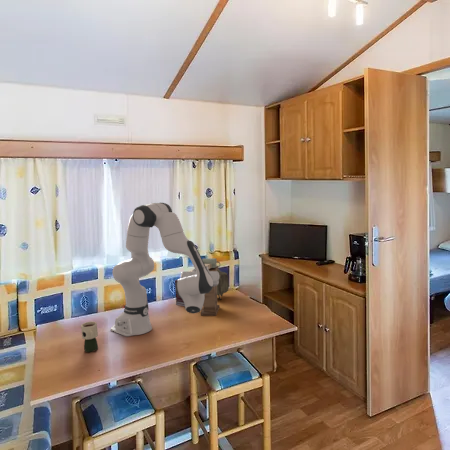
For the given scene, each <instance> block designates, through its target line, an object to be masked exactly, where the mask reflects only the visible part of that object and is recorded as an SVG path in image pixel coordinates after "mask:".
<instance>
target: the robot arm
mask: <svg viewBox="0 0 450 450" xmlns="http://www.w3.org/2000/svg"><path fill="white" fill-rule="evenodd" d="M153 227H155V228H157V229H158V232H159V234H160V238H161V242H162V244H163V246H164V248H165V249H166V250H167V251H168V252H170V253H174V254H179V255H185V256H187V257H188V258H189V259H190V261H191V263H192V266H193V267H194V269H192V270H191V271H189V270H188V271H181V272H180V273H181V274H180V277H179V278H178V279H176V280H177V282H176V286H174V288H175V289H174V290H176V291H175V294H176V293H177V295H178V296H179V297H180V298H181V299H183V301H184V304H185V306H184V308H185V311H186V312H187V313H189V314H198V313H201V312H202V310H203V304H204V299H205V296H204V295H205V293H209V292H210V291H211V289H212V288H213V287H214V286H217V285H218V284H219V272H218V271H209V270H208V266H207V267H205V264H204V262H203V260H202V259H203V258H202V256H201V254H200V252H199V249H198V248H197V246H196V244H195V243H194V242H193V241H191V240H189V239H188V237H186V234H185V232H184V229H183V225H182V224H181V221H180V219H179V217H178V215H177V214H176V213H175V212H173V209H172V207H171V206H170V205H169V204H168V203H165V202H151V203H147V204H141V205H138V206H137V207H136V208H134V210H133V211H132V215H130V218H129V222H128V225H127V230H126V239H125V240H126V242H125V248H126V250H127V251H128V252H130V255H131V258H129V259H126V260H124V261H120V262H118V264H115V266H114V267H113V268H112V277H113V279H114V280H115V282H116V283H119V285H121V287H122V289H123V292H124V296H125V297H124V298H125V305H122V309H123V311H122V312H121V313H120V314H119V315H118V316H116V317H115V320H114V325H112V326H111V327H110V331H111V332H113V331H114V332H113V333H117V334H119V335H121V336H123V337H131V336H139V335H143V334H144V335H145V334H147V333H149V332H150V331H152V329H153V326H152V324H151V320H150V314H149V303H148V296H147V289H146V287H145V286H143V285H141V283H140V280H139V279H141V278H143V277H147V276H148V275H149V274H151V273H152V272H153V271H154V269H155V262H154V259H153V258H152V256H150V254H149V238H150V229H151V228H153Z"/></svg>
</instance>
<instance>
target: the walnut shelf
mask: <svg viewBox="0 0 450 450" xmlns="http://www.w3.org/2000/svg"><path fill="white" fill-rule="evenodd" d="M218 266H219V265H217V267H215V268H210V269H208V270H209V271H217V270H218V269H219V267H218ZM204 296H205V299H204V304H203V307H202V309H201V311H200V316H202V317H203V316H205V317H206V316H207V317H208V316H211V317H212V316H215V317H216V316H217V314H218V312H219V309H220V304H218V295H217V286H214V287H213V288H212V289H211V291H210V292H209V293H205V295H204Z"/></svg>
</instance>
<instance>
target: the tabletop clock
mask: <svg viewBox="0 0 450 450" xmlns="http://www.w3.org/2000/svg"><path fill="white" fill-rule="evenodd" d="M217 264H219V265H217V266H218V270H217V271H218V272H219V284H218V285H217V300H221V299H222V298H221V297H222V296H223V295H224V294H226V293H228V291H229V287H230V282H229V275H228V273H227V272H225V271H222V270H220V266H221V263H220V261H217Z"/></svg>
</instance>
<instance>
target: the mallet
mask: <svg viewBox="0 0 450 450" xmlns="http://www.w3.org/2000/svg"><path fill="white" fill-rule="evenodd" d="M202 260H203V262H204V264H205V267H207V266H208V269H210V268H215V267H217V266H218V265H217V264H218V263H217V262H218V260H217V258H214V257H213V258H202Z"/></svg>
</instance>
